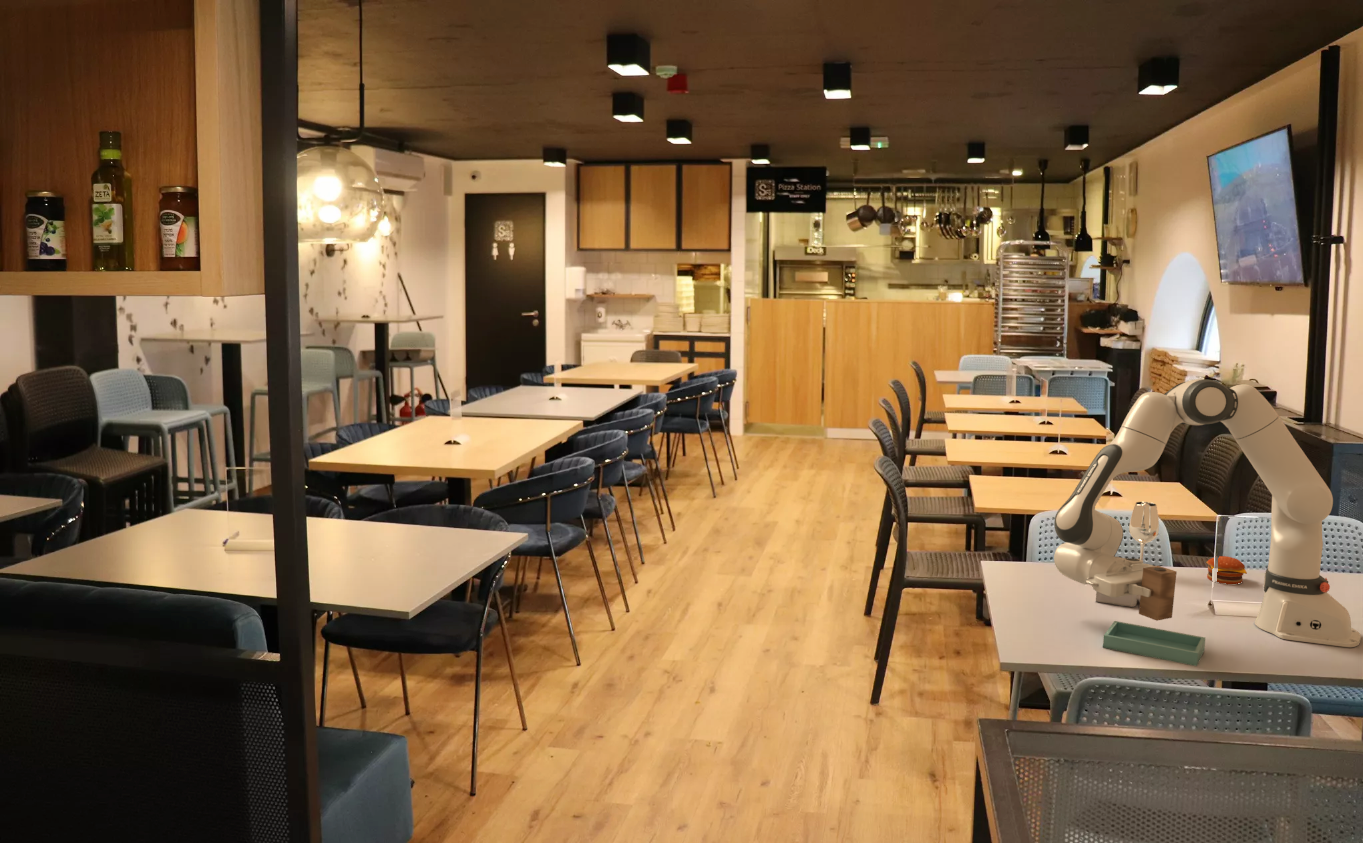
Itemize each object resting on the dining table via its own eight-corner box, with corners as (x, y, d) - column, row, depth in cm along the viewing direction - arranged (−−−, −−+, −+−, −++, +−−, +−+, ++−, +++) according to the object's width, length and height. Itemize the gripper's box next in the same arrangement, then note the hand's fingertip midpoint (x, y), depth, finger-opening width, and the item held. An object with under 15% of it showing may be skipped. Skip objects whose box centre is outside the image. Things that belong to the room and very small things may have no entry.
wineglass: (1119, 569, 322) (1125, 502, 319) (1139, 567, 325) (1145, 499, 322) (1140, 577, 315) (1146, 508, 312) (1161, 574, 318) (1167, 505, 315)
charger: (1157, 612, 285) (1095, 603, 292) (1160, 602, 293) (1100, 593, 300) (1158, 594, 285) (1096, 585, 291) (1162, 585, 293) (1101, 576, 299)
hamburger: (1237, 576, 318) (1239, 554, 316) (1246, 587, 308) (1249, 563, 307) (1201, 573, 320) (1204, 551, 318) (1210, 584, 310) (1212, 560, 309)
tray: (1204, 650, 259) (1205, 637, 258) (1196, 666, 249) (1197, 653, 248) (1113, 632, 269) (1114, 620, 269) (1102, 647, 259) (1103, 635, 259)
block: (1153, 611, 261) (1158, 565, 259) (1171, 617, 257) (1176, 570, 255) (1138, 614, 259) (1143, 567, 257) (1156, 620, 254) (1161, 573, 253)
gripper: (1082, 567, 263) (1130, 584, 251) (1142, 557, 272) (1192, 573, 260) (1080, 593, 264) (1127, 611, 252) (1140, 582, 273) (1189, 599, 261)
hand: (1161, 591), depth 256 cm, fingers closed on block, 5 cm apart
